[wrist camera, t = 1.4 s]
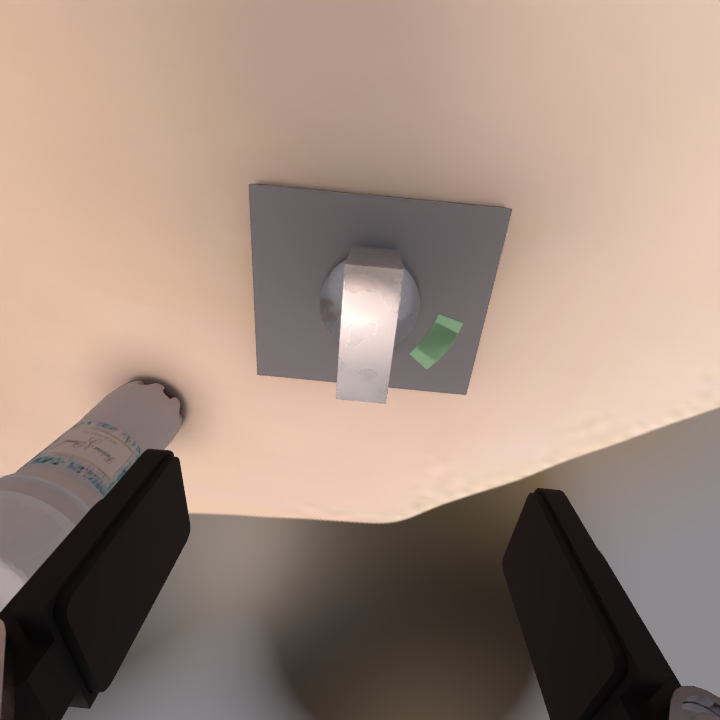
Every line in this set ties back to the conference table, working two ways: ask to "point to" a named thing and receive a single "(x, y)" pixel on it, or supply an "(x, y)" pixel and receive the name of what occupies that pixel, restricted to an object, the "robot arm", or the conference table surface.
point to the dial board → (380, 230)
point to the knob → (368, 318)
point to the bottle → (77, 476)
